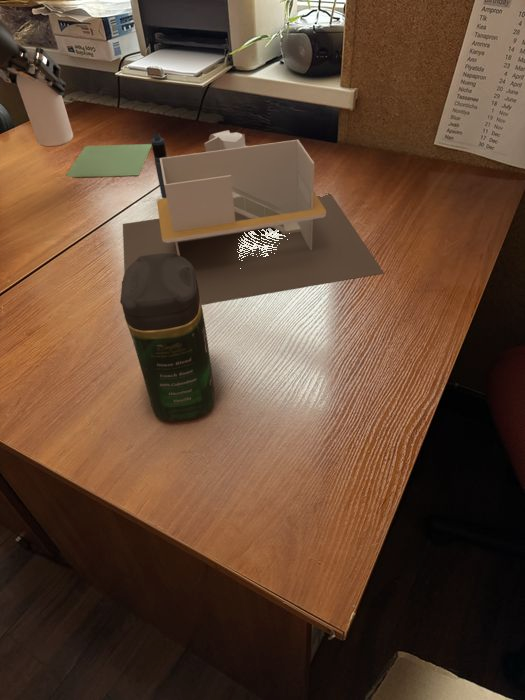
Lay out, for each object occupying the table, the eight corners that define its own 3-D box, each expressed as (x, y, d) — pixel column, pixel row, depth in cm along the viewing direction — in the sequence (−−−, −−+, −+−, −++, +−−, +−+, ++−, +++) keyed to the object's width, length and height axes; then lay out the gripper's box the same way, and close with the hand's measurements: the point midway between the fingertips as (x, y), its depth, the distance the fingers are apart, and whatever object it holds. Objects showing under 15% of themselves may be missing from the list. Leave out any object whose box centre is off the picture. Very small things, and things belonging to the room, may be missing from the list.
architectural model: (170, 280, 80) (152, 193, 69) (164, 238, 89) (147, 155, 78) (326, 255, 83) (330, 167, 72) (304, 216, 92) (306, 133, 81)
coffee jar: (219, 419, 60) (198, 297, 47) (152, 429, 59) (112, 308, 46) (212, 362, 66) (192, 241, 53) (152, 370, 66) (117, 250, 53)
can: (78, 141, 92) (57, 69, 83) (43, 150, 89) (18, 77, 81) (67, 130, 96) (46, 60, 87) (33, 139, 93) (8, 68, 85)
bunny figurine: (234, 123, 115) (264, 137, 104) (237, 146, 118) (266, 162, 107) (195, 132, 112) (222, 148, 101) (200, 156, 115) (225, 173, 104)
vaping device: (167, 191, 101) (156, 130, 93) (187, 198, 99) (177, 136, 90) (158, 196, 100) (146, 135, 91) (178, 203, 97) (167, 141, 89)
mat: (64, 178, 108) (64, 177, 107) (85, 146, 119) (85, 146, 119) (138, 175, 107) (138, 175, 107) (152, 144, 118) (152, 143, 118)
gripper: (16, 2, 70) (85, 69, 86) (-67, 0, 73) (15, 65, 89) (7, 55, 70) (78, 113, 86) (-75, 51, 73) (8, 107, 90)
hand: (45, 88), depth 88 cm, fingers closed on can, 6 cm apart
